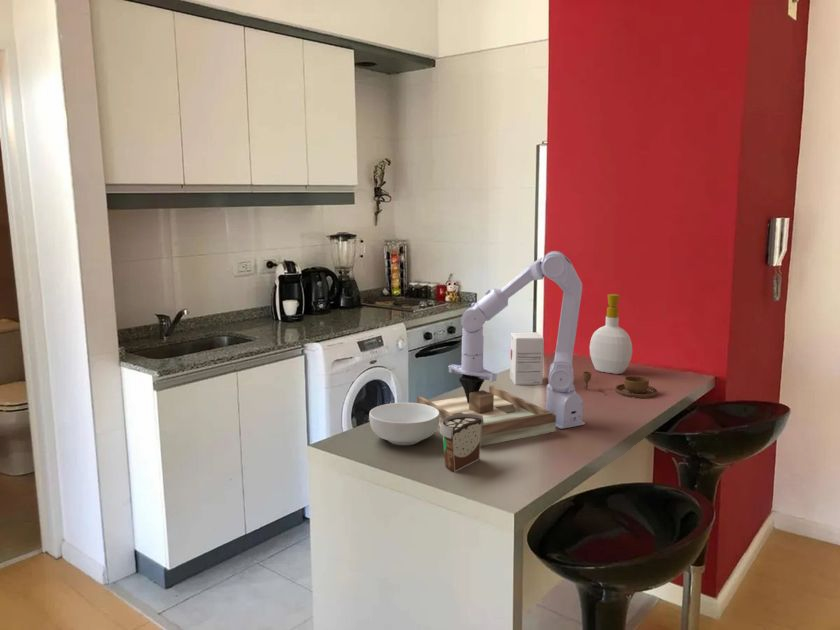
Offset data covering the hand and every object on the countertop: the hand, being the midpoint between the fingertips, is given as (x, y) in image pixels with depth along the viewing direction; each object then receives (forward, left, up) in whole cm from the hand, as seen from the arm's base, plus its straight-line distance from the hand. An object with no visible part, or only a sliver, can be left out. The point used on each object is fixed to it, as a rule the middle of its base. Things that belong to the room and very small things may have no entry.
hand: (471, 402), depth 185 cm
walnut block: (-4, 0, -1) cm, 4 cm away
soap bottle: (+18, -65, -4) cm, 68 cm away
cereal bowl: (-9, +24, -4) cm, 26 cm away
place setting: (0, -53, -4) cm, 53 cm away
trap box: (-6, 0, -3) cm, 7 cm away
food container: (-27, +20, -4) cm, 33 cm away
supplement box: (+21, -33, -4) cm, 40 cm away
